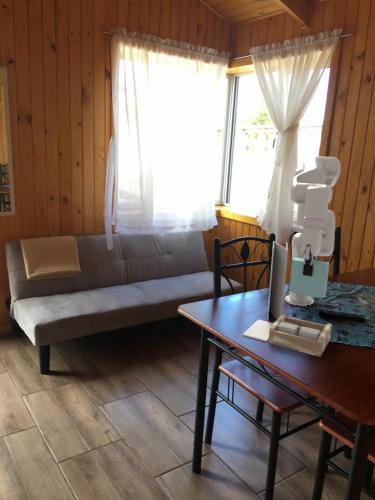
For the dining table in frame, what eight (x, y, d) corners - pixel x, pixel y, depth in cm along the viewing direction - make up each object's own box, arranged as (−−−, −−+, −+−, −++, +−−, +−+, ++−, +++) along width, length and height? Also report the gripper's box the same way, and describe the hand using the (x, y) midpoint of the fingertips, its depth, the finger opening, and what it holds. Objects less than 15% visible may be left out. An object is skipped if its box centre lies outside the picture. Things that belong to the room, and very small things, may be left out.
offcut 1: (280, 338, 151) (281, 321, 149) (296, 342, 148) (298, 325, 146) (276, 342, 147) (278, 325, 146) (293, 346, 145) (295, 329, 143)
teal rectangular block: (292, 288, 153) (295, 257, 150) (325, 295, 147) (329, 262, 144) (289, 291, 149) (292, 259, 146) (323, 298, 144) (326, 265, 141)
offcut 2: (300, 343, 147) (302, 326, 146) (317, 347, 144) (319, 330, 143) (297, 347, 144) (299, 330, 142) (315, 352, 141) (317, 334, 139)
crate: (281, 327, 159) (283, 313, 158) (330, 339, 151) (331, 323, 149) (268, 343, 146) (269, 327, 145) (320, 356, 138) (322, 340, 136)
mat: (258, 320, 165) (258, 319, 165) (280, 326, 161) (280, 324, 161) (242, 335, 152) (242, 334, 152) (266, 341, 147) (266, 340, 147)
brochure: (281, 324, 163) (288, 250, 155) (267, 322, 164) (273, 249, 156) (281, 310, 176) (287, 242, 169) (267, 309, 177) (273, 241, 170)
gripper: (309, 218, 151) (304, 266, 155) (296, 225, 137) (291, 278, 141) (330, 220, 147) (325, 269, 152) (319, 228, 133) (314, 282, 138)
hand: (309, 273), depth 146 cm, fingers closed on teal rectangular block, 4 cm apart
